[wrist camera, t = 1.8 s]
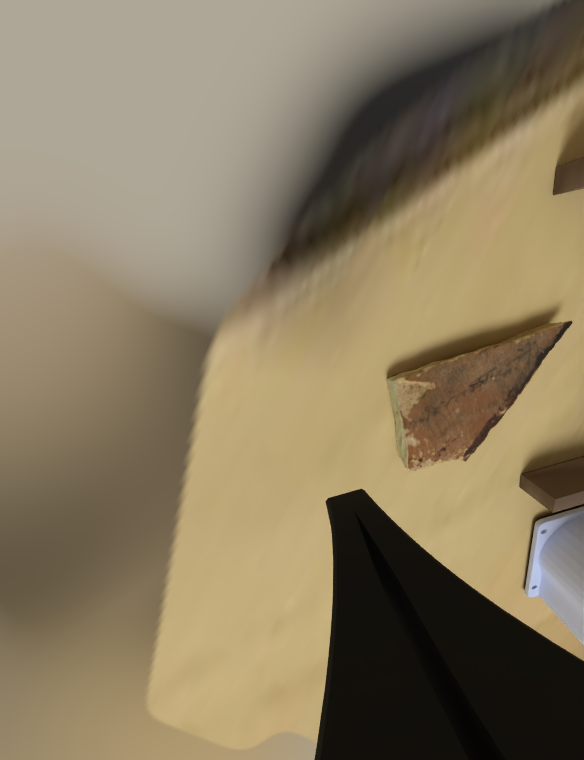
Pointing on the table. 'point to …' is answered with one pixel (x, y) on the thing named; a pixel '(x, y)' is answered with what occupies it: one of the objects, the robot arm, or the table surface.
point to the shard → (464, 396)
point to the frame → (580, 475)
